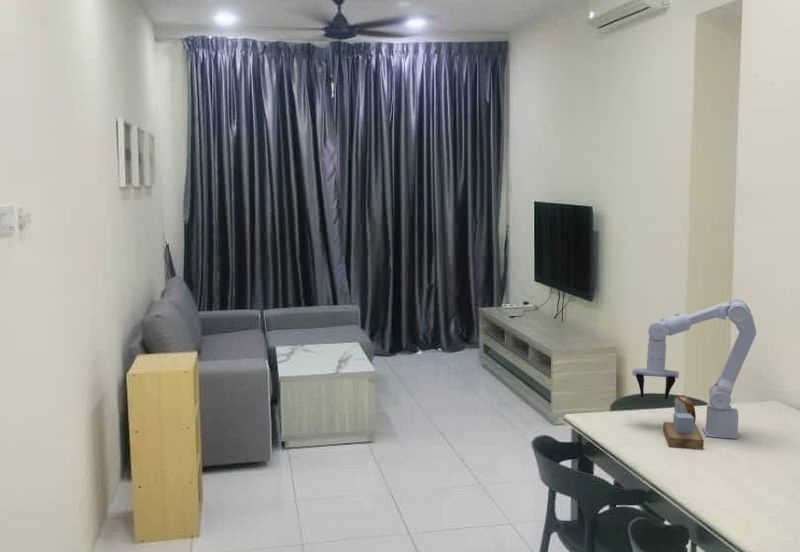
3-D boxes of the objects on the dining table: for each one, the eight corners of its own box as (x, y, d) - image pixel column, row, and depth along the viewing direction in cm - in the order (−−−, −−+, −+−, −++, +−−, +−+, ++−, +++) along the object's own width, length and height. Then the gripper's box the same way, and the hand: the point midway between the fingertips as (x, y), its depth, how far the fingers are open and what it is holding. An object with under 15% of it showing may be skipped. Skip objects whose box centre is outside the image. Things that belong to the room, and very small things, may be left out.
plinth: (695, 433, 263) (695, 424, 263) (703, 449, 248) (703, 440, 247) (663, 430, 265) (663, 422, 265) (668, 446, 250) (669, 437, 249)
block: (689, 428, 258) (690, 413, 258) (693, 433, 254) (694, 418, 253) (673, 428, 259) (674, 412, 258) (677, 433, 254) (677, 417, 253)
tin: (695, 429, 268) (697, 404, 267) (686, 429, 268) (687, 404, 267) (681, 415, 283) (682, 392, 282) (672, 415, 283) (673, 392, 282)
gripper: (677, 356, 269) (675, 395, 271) (632, 353, 272) (630, 392, 274) (680, 361, 262) (678, 401, 264) (634, 358, 265) (632, 398, 267)
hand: (654, 397), depth 269 cm, fingers open, 7 cm apart
